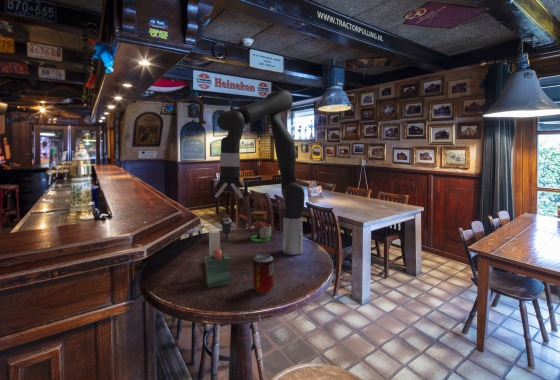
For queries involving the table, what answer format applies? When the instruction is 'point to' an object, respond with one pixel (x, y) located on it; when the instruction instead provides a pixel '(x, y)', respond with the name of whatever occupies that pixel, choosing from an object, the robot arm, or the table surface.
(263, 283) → the soda can
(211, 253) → the carriage
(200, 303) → the table surface
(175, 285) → the table surface
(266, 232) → the toy burger
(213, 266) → the rail
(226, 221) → the sundae
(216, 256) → the red rounded capsule
